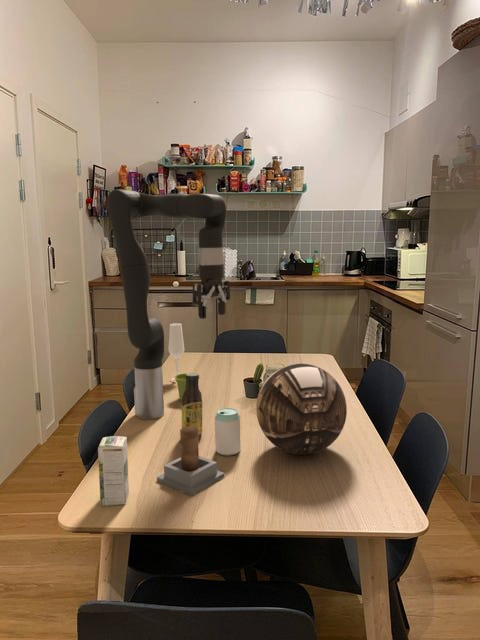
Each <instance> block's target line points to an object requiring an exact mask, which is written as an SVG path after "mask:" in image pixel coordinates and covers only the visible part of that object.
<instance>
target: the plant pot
mask: <svg viewBox="0 0 480 640" xmlns="http://www.w3.org/2000/svg"><path fill="white" fill-rule="evenodd" d="M187 373H188V372H183V373H179V374H178V375H176V374H175V376H174V377H175V379H176V382H177V383H176V385H177V390H178V395H179V400H180V401H182V396H183V394H184V391H185V390H186V379H185V375H186V374H187ZM200 376H201V375H200V374H199V379H198V381H199V380H200V378H201V377H200Z"/></svg>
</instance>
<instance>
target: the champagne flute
mask: <svg viewBox="0 0 480 640" xmlns="http://www.w3.org/2000/svg"><path fill="white" fill-rule="evenodd" d="M182 325H183V324H182V323H170V324H169V333H168V334H169V335H168V353H169V354H170V356H172V358H174V359H175V376H176V375H178V374H180V369H179V367H180V366H179V358H180V357H182V355H184V352H185V342H184V335H183V327H182ZM175 376H174V377H172V378H171V379H172V380H175V381H176V379H175Z"/></svg>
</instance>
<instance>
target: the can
mask: <svg viewBox="0 0 480 640" xmlns="http://www.w3.org/2000/svg"><path fill="white" fill-rule="evenodd" d="M238 412H239V411H238V409H236V408H233V407H223V408H219V409H218V410H217V411H216V414H215V416H214V431H215V433H214V436H215V443H214V444H215V452H217V454H220V455H221V456H225V457H226V456H233V455H234V456H235V455H237V454H238V453H239V452H240V451H241V415H240V414H239V413H238Z"/></svg>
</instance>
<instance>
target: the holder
mask: <svg viewBox="0 0 480 640" xmlns="http://www.w3.org/2000/svg"><path fill="white" fill-rule="evenodd" d="M224 477H225V472H222V471H220V470H218V463H217V461H214V460H212V459H209V458H206V457H203V456H200V455H199V469H197V470H196V471H194V472H192V473H189V472H187V471H184V470H182V469H181V456H180V457H178V458H176V459H173V461H172V460H171V461H170V462H169V463H166V464H164V465H163V474H160V475H158V476H156V481H157V482H159V483H161V484H164V485H166V486H169V487H170V488H173V489H175V490H176V491H180V492H181V493H184V494H185V495H188V496H190V497H191V496H194V495H196V494H197V493H199V492H200V491H203V490H204V489H206V488H207V487H209V486H210V485H213V484H214V483H216V482H218V481H220V480H221V479H223V478H224Z"/></svg>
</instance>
